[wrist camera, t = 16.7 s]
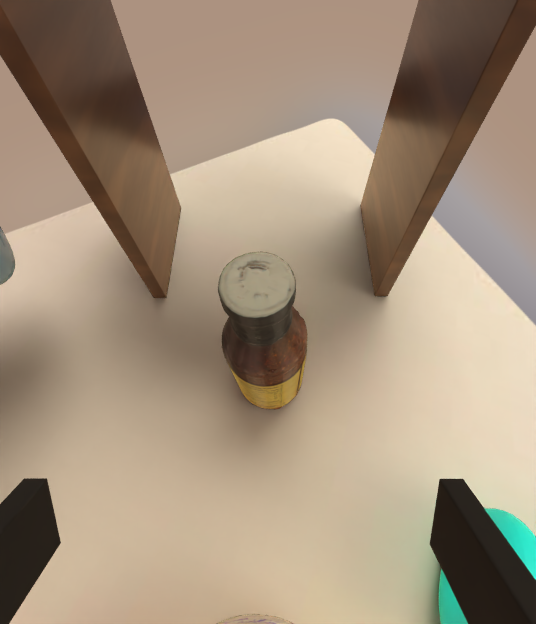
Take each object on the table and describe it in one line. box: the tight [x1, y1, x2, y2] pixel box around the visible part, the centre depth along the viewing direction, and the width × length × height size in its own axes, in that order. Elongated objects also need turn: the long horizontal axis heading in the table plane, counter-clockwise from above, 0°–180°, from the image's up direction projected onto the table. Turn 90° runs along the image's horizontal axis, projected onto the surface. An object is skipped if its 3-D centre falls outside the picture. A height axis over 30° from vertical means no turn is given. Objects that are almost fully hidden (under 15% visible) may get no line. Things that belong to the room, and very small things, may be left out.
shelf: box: [0, 0, 536, 298], centre depth 30 cm, size 27×14×32 cm, turn 90°
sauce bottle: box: [218, 252, 307, 409], centre depth 27 cm, size 6×6×20 cm
